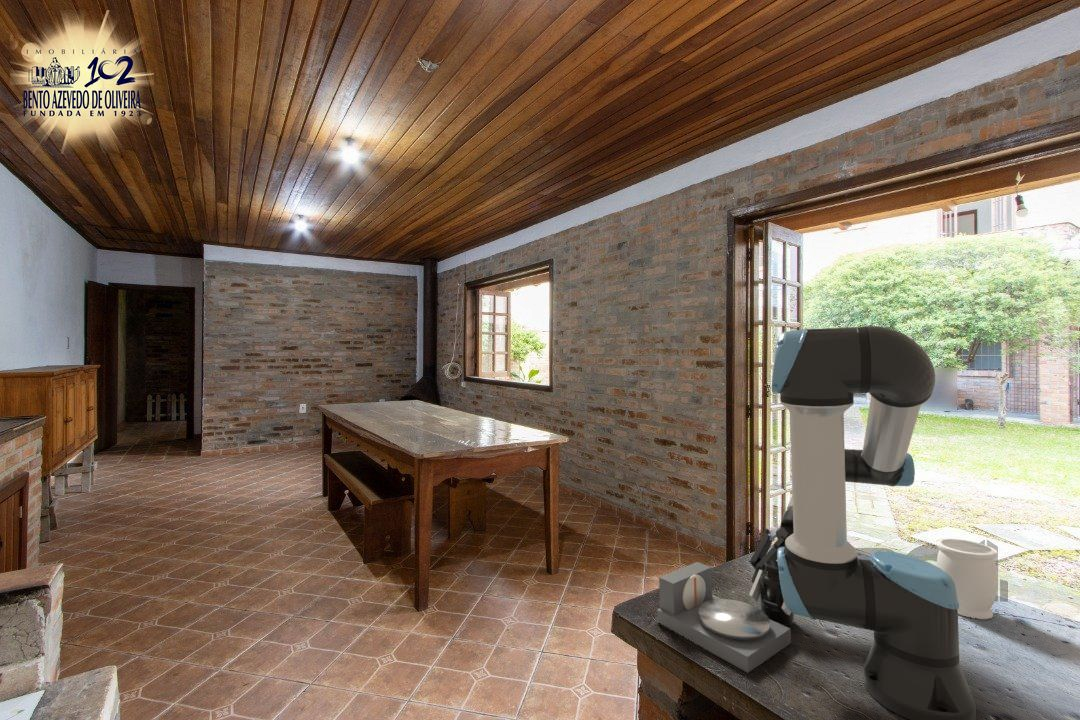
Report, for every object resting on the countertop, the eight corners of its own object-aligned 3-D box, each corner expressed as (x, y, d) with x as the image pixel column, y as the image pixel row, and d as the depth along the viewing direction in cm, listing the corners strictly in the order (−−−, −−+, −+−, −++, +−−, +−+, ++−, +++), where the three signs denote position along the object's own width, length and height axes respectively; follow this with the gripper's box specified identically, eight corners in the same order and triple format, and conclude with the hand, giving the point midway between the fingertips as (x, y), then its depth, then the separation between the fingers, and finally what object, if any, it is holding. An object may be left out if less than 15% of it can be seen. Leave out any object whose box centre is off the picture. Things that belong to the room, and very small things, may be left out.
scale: (791, 643, 98) (789, 594, 98) (747, 672, 89) (746, 619, 89) (700, 601, 116) (699, 560, 116) (657, 622, 107) (656, 578, 107)
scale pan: (783, 624, 98) (783, 618, 98) (745, 648, 90) (745, 641, 90) (723, 598, 110) (723, 593, 110) (685, 617, 102) (685, 612, 102)
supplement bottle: (763, 623, 104) (761, 569, 104) (758, 608, 111) (757, 557, 111) (798, 628, 102) (796, 572, 102) (791, 612, 109) (789, 560, 109)
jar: (974, 600, 114) (972, 538, 114) (1013, 623, 103) (1010, 555, 104) (927, 599, 115) (925, 537, 115) (960, 622, 105) (958, 554, 105)
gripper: (853, 537, 108) (821, 632, 98) (769, 516, 124) (735, 596, 114) (841, 518, 105) (808, 614, 95) (757, 499, 121) (721, 580, 111)
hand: (768, 604), depth 104 cm, fingers closed on supplement bottle, 7 cm apart
